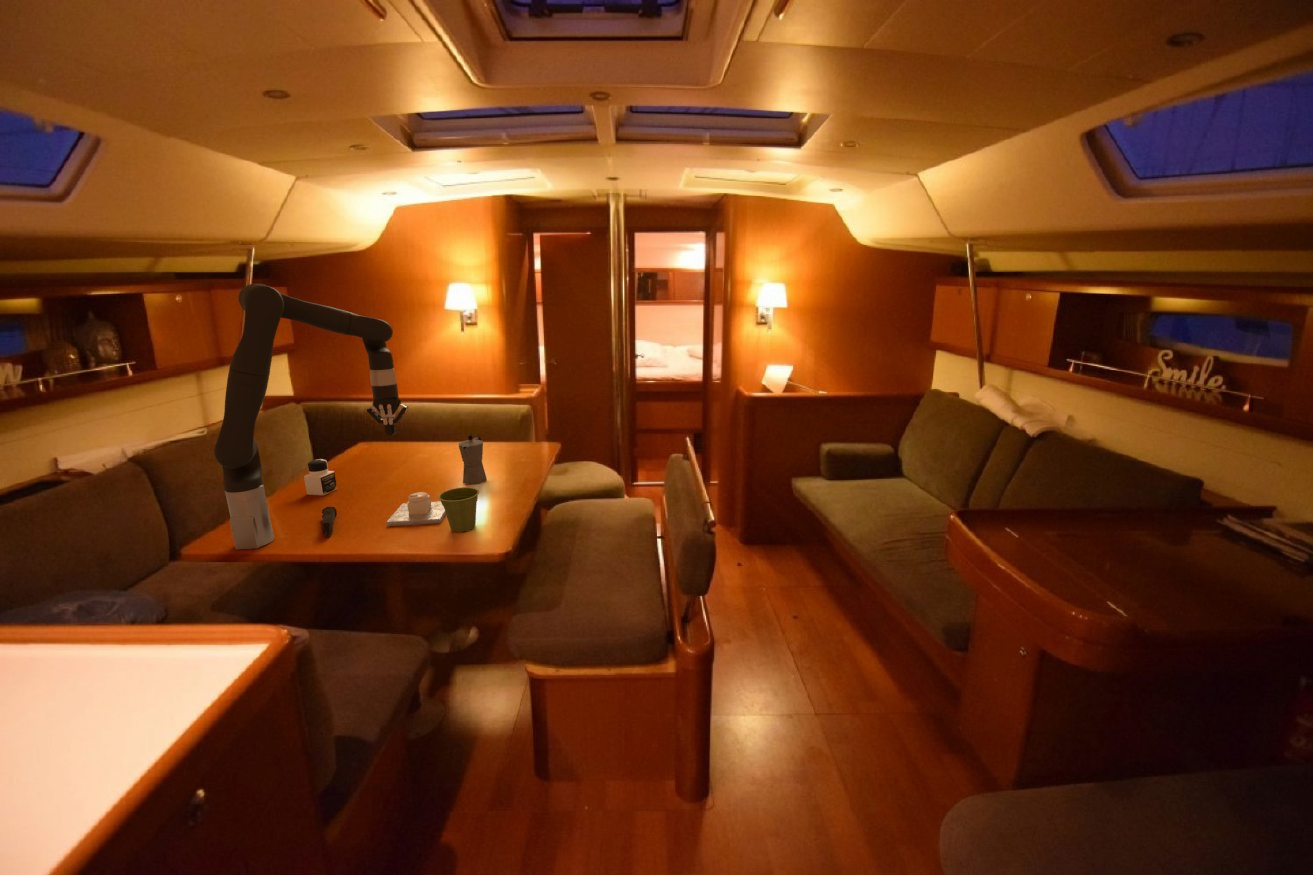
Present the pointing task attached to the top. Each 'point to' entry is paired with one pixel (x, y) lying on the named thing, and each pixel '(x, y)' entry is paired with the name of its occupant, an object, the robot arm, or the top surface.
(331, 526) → the hand tool
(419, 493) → the knob
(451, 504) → the plant pot
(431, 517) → the block
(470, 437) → the coffeepot
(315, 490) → the medicine bottle
